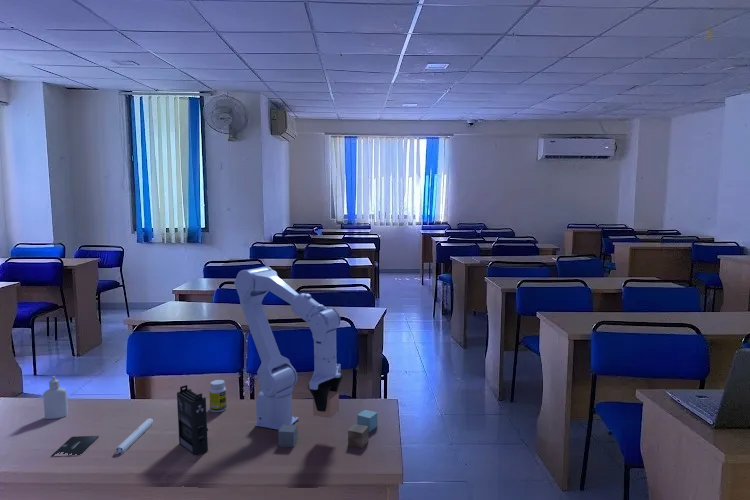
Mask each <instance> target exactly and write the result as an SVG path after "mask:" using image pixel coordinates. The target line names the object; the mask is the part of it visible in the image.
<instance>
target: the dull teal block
mask: <svg viewBox="0 0 750 500" xmlns="http://www.w3.org/2000/svg"><path fill="white" fill-rule="evenodd" d="M356 417H357V418H356V422H357V423H356V424H358V425H364V426H368V433H371V432H372V431H373V430H375V429H376V428H377V427H378V411H377V412H376V411H372V410H368V409H364V410H362V411H361V412H359V413H358V414H356Z"/></svg>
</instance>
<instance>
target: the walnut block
mask: <svg viewBox="0 0 750 500" xmlns="http://www.w3.org/2000/svg"><path fill="white" fill-rule="evenodd" d="M367 443H369V432H368V426H364V425H358V424H357V423H354V424H352V425H351V426H350V427H349V429H348V430H347V446H350V447H355V448H360V449H361V448H362V449H364V447H365V446H366V444H367Z"/></svg>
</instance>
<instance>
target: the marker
mask: <svg viewBox="0 0 750 500" xmlns="http://www.w3.org/2000/svg"><path fill="white" fill-rule="evenodd" d="M153 424H154V419H153V418H150V417H149V418H147V419H145V421H143V422H142V423H141V424H140V425H139V426H138V427H137V428H136V429H135V430H134V431H132V432H131V434H130V435H129V436H127V438H125V439H123V441H122V442H121V443H120V444H119V445H117V447H116V448H115V453H116V454H117V455H119V454H121V455H122V454H125V452H126V451H127V450H129V448H130V447H131V446H132V445H133V444H134V443H135V442H136V441H137V440H139V438H140V437H141V436H142V435H143V434H145V432H146V431H147V430H148V429H150V427H152V425H153Z"/></svg>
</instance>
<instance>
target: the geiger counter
mask: <svg viewBox="0 0 750 500" xmlns="http://www.w3.org/2000/svg"><path fill="white" fill-rule="evenodd" d="M176 401H177V404H176V406H177V421H178V422H177V423H178V424H177V425H178V441H179V442H178V445H180V446H181V447H182V448H184V449H185V450H186V451H187V452H189V453H190V454H191V455H193V456H195V457H196V456H199V455H202V454H204V453H207V452H208V451H209V442H208V441H209V440H208V439H209V437H208V432H209V429H208V420H207V419H208V418H207V398H206V397H203V393H202V392H201V393H198V394H197V393H195V392H193V390H192V389H191V388H188V384H186V385H181V386H180V387H179V391H177V393H176Z"/></svg>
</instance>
